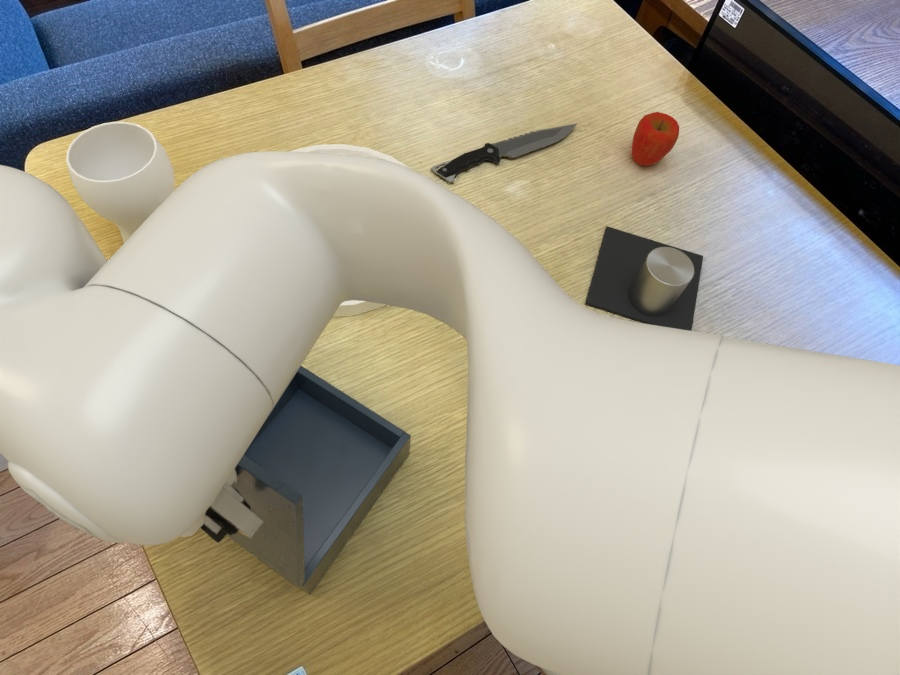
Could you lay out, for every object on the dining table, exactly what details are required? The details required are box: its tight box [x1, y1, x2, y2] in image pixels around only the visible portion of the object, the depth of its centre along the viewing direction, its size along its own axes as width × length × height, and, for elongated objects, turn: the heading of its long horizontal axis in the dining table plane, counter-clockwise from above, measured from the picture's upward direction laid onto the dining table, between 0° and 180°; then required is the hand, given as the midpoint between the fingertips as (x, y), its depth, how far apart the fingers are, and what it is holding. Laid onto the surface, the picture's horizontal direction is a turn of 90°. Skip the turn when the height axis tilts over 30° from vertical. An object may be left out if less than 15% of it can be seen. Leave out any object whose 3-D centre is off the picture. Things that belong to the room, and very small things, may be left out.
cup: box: [65, 121, 176, 244], centre depth 76 cm, size 11×11×15 cm
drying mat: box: [584, 225, 704, 331], centre depth 85 cm, size 14×14×1 cm
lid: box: [206, 455, 305, 589], centre depth 50 cm, size 18×16×5 cm
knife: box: [429, 123, 578, 184], centre depth 95 cm, size 26×1×5 cm
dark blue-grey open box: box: [244, 365, 412, 596], centre depth 65 cm, size 18×16×6 cm
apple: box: [631, 111, 680, 167], centre depth 94 cm, size 6×6×8 cm
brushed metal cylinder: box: [628, 247, 694, 316], centre depth 80 cm, size 6×6×7 cm
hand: (192, 494), depth 46 cm, fingers open, 6 cm apart
